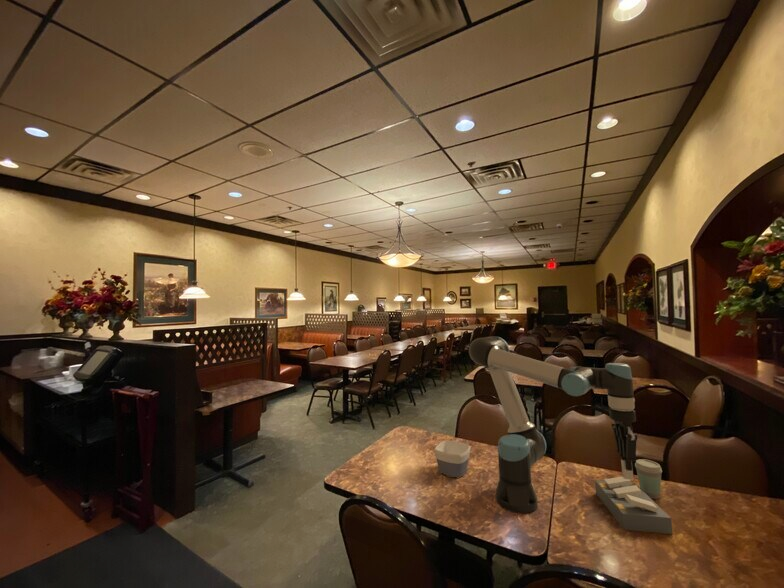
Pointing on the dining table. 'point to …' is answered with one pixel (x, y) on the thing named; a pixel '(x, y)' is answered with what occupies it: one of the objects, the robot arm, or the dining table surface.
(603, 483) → the switch unit
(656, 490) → the coffee cup
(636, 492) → the rocker
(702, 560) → the dining table surface
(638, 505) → the rocker
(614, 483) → the rocker
